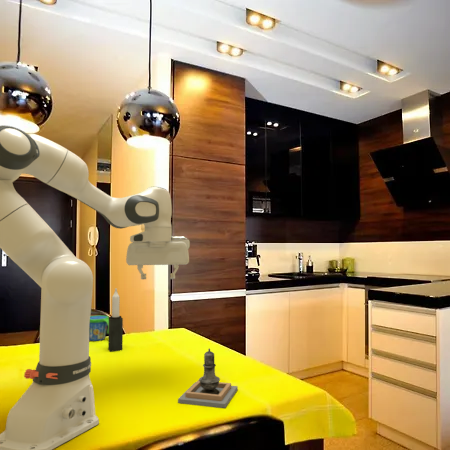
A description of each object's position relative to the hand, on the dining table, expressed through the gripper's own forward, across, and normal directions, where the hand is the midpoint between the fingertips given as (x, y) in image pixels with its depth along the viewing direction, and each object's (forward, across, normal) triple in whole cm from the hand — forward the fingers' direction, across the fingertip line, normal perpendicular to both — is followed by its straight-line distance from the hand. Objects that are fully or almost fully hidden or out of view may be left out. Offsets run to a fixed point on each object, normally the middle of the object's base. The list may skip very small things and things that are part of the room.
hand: (158, 279), depth 122 cm
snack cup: (+31, +36, -53) cm, 71 cm away
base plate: (+31, -16, +17) cm, 39 cm away
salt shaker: (+30, -17, +17) cm, 39 cm away
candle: (+31, +22, -35) cm, 52 cm away
